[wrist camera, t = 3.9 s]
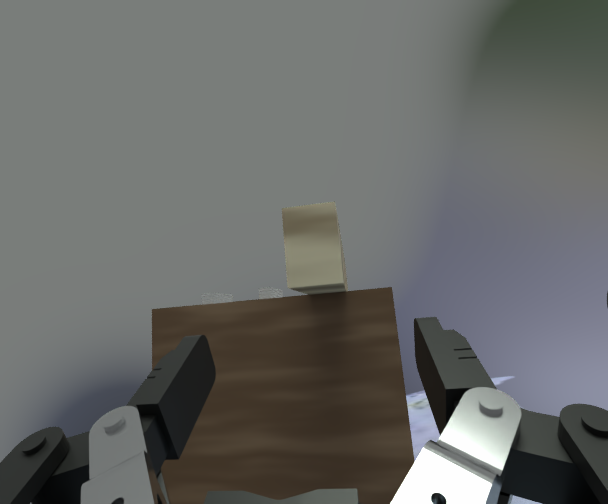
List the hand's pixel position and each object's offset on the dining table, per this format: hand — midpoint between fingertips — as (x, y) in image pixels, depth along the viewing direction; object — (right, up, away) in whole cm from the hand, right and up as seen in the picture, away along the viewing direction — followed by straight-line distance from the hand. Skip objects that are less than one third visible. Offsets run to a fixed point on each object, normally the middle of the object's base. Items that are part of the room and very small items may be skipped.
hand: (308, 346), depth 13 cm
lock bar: (+2, 0, +16) cm, 16 cm away
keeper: (-7, -2, +25) cm, 26 cm away
